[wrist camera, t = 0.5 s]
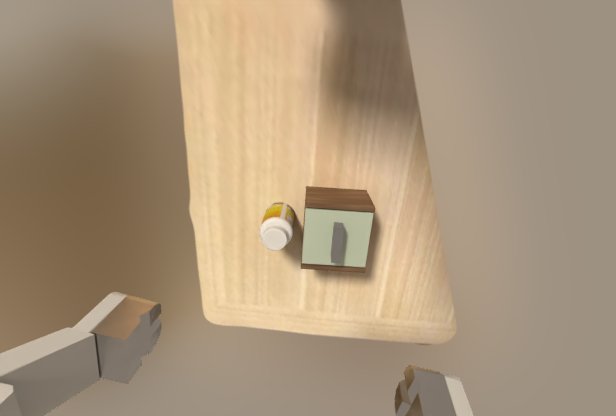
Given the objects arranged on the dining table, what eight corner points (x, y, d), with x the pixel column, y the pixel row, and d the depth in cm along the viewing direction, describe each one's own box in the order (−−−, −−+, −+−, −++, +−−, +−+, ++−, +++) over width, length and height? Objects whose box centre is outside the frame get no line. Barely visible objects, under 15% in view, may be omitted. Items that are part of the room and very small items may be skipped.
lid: (305, 207, 50) (305, 214, 47) (372, 211, 50) (376, 219, 47) (301, 261, 53) (301, 271, 50) (364, 265, 53) (367, 275, 51)
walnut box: (306, 186, 57) (305, 202, 49) (366, 190, 57) (375, 207, 49) (302, 244, 61) (300, 268, 53) (358, 248, 61) (365, 272, 53)
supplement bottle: (260, 220, 59) (251, 245, 50) (273, 195, 57) (266, 217, 48) (286, 232, 60) (282, 260, 51) (300, 209, 58) (298, 233, 49)
